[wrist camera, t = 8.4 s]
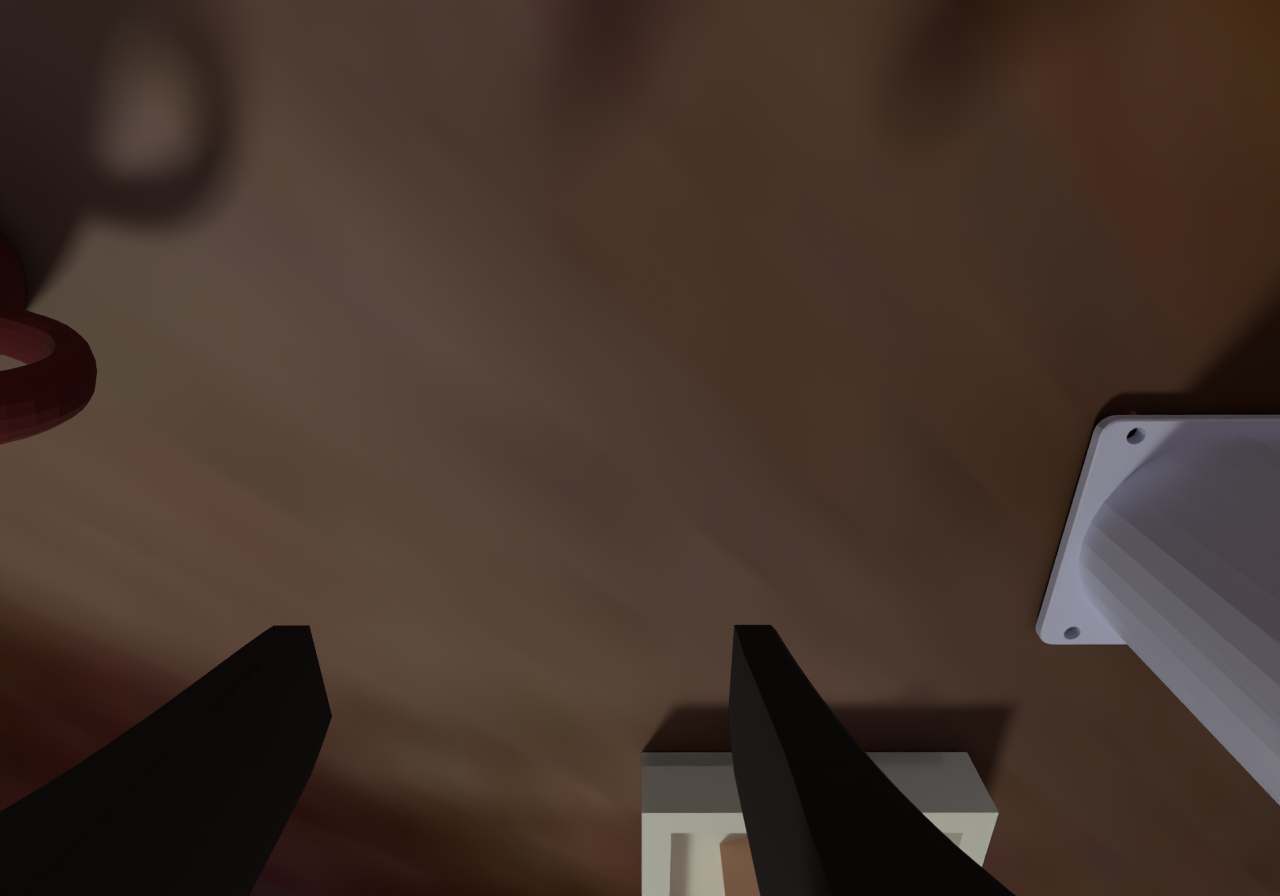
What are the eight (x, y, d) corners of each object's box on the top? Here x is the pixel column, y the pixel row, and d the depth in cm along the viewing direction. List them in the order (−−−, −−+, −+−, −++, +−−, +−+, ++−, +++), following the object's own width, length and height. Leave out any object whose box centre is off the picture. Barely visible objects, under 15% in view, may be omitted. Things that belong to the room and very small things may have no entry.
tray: (966, 752, 26) (998, 812, 23) (917, 935, 30) (940, 1000, 28) (641, 752, 26) (642, 813, 23) (641, 935, 30) (642, 1001, 28)
